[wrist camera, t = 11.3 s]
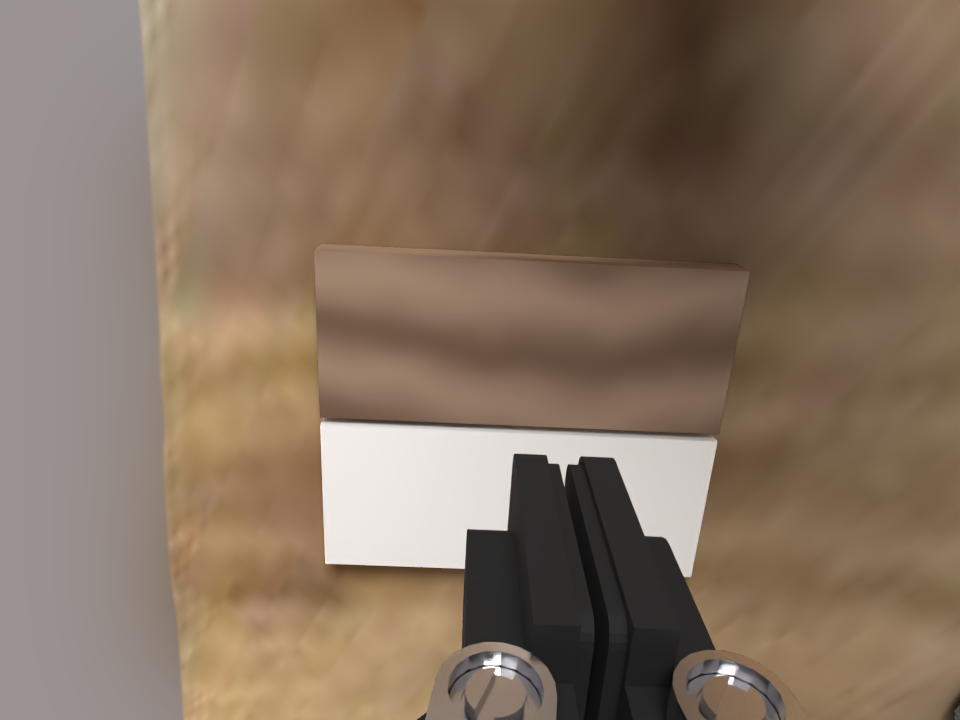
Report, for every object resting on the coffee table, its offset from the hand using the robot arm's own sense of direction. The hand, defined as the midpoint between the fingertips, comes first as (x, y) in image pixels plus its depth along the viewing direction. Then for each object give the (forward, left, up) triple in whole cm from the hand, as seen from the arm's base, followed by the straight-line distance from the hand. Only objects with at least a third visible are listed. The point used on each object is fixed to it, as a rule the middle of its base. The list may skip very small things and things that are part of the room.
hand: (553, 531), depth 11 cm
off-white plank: (+16, +2, -29) cm, 33 cm away
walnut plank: (+6, +2, -29) cm, 29 cm away
